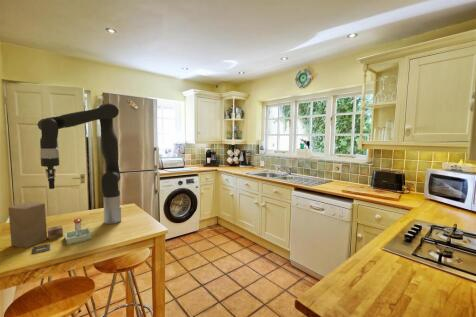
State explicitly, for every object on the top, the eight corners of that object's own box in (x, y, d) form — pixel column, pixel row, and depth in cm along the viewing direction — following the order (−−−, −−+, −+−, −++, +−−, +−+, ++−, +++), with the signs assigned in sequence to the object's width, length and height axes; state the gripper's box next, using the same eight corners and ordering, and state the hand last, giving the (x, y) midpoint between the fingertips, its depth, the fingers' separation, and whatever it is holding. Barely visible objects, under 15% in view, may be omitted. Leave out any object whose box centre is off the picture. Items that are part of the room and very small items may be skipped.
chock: (61, 233, 127) (61, 225, 127) (63, 236, 124) (62, 227, 124) (48, 236, 123) (47, 228, 123) (48, 239, 120) (48, 230, 120)
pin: (82, 235, 125) (81, 218, 124) (82, 237, 122) (81, 220, 121) (74, 237, 123) (73, 219, 121) (75, 239, 120) (74, 221, 119)
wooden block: (27, 248, 111) (24, 209, 108) (10, 245, 113) (7, 207, 110) (47, 239, 120) (45, 203, 118) (32, 237, 122) (29, 201, 120)
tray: (89, 232, 130) (88, 227, 129) (91, 239, 122) (91, 233, 122) (65, 237, 123) (64, 232, 122) (66, 245, 115) (66, 239, 115)
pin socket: (50, 244, 115) (49, 243, 115) (50, 249, 110) (50, 248, 110) (33, 248, 111) (33, 247, 111) (33, 253, 106) (33, 252, 106)
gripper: (40, 155, 121) (42, 185, 123) (40, 158, 110) (42, 191, 112) (58, 155, 126) (60, 183, 127) (59, 158, 115) (61, 188, 117)
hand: (51, 187), depth 120 cm, fingers open, 8 cm apart
